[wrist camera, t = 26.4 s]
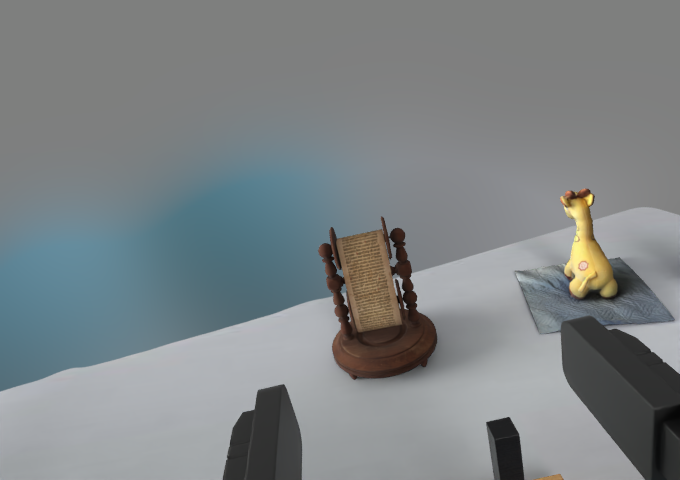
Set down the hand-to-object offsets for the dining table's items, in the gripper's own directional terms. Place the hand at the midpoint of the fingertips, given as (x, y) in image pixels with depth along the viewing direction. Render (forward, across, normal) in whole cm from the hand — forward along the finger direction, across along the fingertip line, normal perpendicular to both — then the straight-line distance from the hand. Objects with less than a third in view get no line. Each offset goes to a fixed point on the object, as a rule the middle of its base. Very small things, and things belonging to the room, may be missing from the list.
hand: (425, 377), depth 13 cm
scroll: (+44, 0, +31) cm, 54 cm away
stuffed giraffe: (+47, -31, +31) cm, 64 cm away
